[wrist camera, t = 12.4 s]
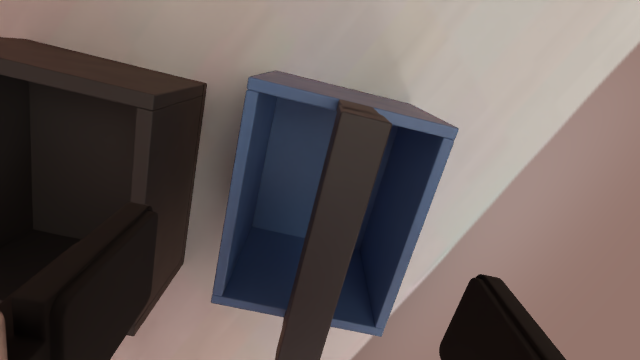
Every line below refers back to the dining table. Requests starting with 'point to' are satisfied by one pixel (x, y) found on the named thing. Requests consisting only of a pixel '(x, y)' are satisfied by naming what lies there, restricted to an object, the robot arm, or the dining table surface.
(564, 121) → the dining table surface
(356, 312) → the blue tote
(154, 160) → the black tote
